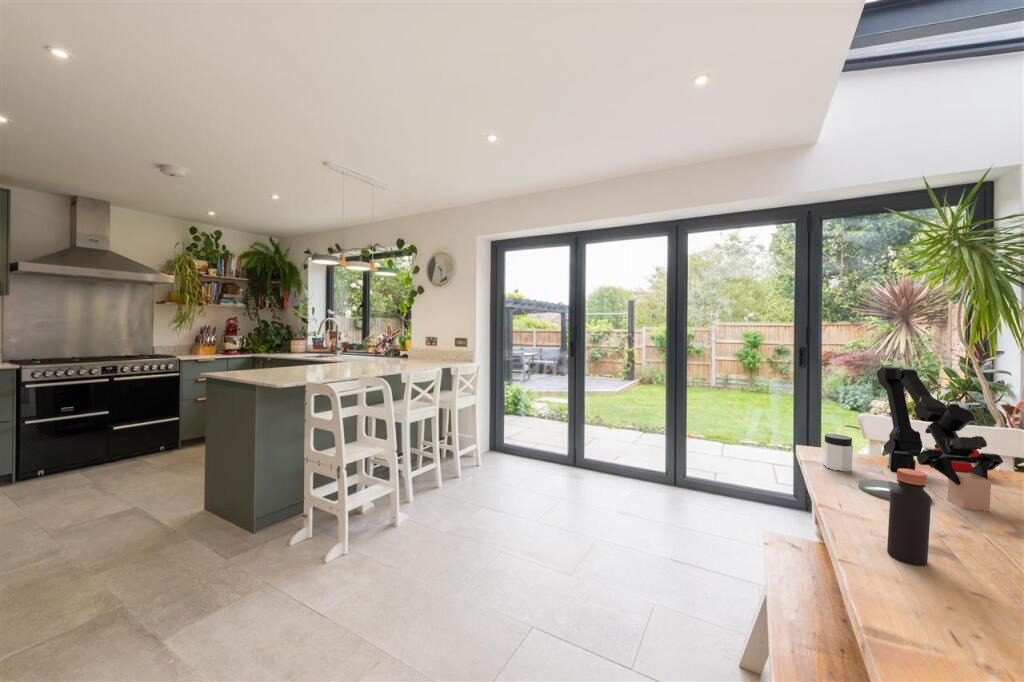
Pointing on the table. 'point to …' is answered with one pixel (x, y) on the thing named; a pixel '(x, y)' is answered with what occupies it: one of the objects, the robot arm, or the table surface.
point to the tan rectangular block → (970, 492)
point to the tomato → (964, 464)
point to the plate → (877, 487)
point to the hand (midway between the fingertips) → (972, 485)
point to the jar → (837, 452)
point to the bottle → (909, 518)
